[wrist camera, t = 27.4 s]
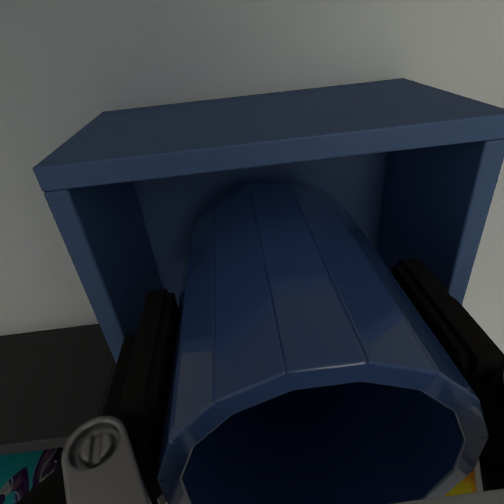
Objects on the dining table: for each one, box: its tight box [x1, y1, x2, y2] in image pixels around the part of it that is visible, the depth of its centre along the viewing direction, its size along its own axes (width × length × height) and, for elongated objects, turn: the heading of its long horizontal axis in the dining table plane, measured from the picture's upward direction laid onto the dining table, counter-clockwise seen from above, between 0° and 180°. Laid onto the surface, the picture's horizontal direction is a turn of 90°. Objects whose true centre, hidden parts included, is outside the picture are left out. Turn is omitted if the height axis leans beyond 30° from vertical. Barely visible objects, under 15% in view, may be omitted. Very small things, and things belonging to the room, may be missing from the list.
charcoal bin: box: [0, 324, 166, 504], centre depth 19 cm, size 11×11×6 cm
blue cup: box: [156, 179, 489, 504], centre depth 11 cm, size 7×7×8 cm
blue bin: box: [33, 78, 504, 364], centre depth 14 cm, size 11×11×6 cm
